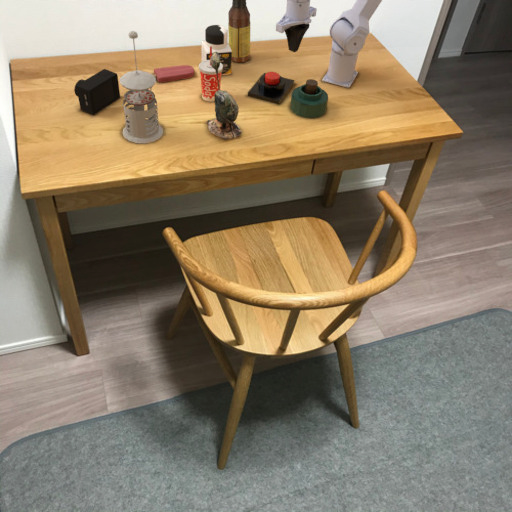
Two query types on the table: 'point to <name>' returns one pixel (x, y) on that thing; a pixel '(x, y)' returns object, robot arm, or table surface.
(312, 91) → the brown cylinder
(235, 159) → the table surface
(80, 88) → the digital camera
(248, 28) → the sauce bottle
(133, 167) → the table surface
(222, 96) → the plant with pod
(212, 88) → the beverage cup
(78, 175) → the table surface
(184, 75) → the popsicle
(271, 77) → the button
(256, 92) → the button box
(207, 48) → the medicine bottle
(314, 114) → the green stepped cylinder
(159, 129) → the french press
